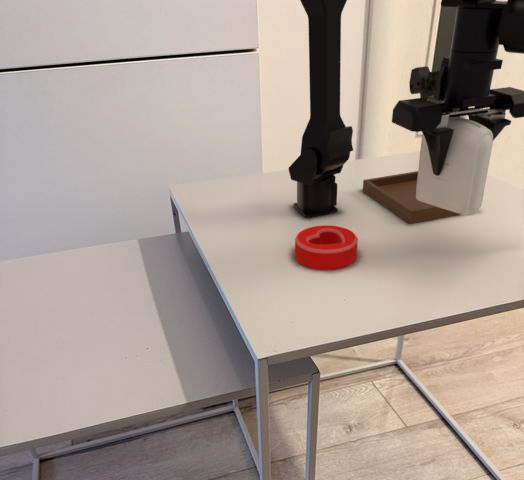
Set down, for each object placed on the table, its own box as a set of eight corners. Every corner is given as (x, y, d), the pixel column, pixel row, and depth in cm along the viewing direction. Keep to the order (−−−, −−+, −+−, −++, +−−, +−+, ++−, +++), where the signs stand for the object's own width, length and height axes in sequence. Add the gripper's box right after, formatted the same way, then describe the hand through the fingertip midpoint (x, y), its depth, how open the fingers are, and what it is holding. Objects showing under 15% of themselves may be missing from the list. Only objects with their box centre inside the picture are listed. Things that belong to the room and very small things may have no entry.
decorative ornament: (350, 272, 80) (352, 253, 78) (288, 266, 83) (288, 247, 81) (360, 245, 87) (362, 227, 85) (303, 239, 90) (303, 222, 88)
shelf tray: (409, 224, 93) (411, 211, 92) (362, 191, 107) (363, 179, 105) (476, 211, 96) (478, 199, 95) (422, 181, 110) (423, 169, 109)
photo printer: (410, 200, 83) (419, 115, 76) (428, 193, 85) (439, 109, 78) (466, 219, 76) (483, 128, 69) (485, 211, 78) (503, 121, 71)
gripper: (494, 36, 77) (473, 148, 86) (377, 48, 72) (368, 164, 82) (551, 46, 68) (520, 169, 77) (422, 59, 64) (406, 188, 73)
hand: (452, 172), depth 78 cm, fingers closed on photo printer, 5 cm apart
